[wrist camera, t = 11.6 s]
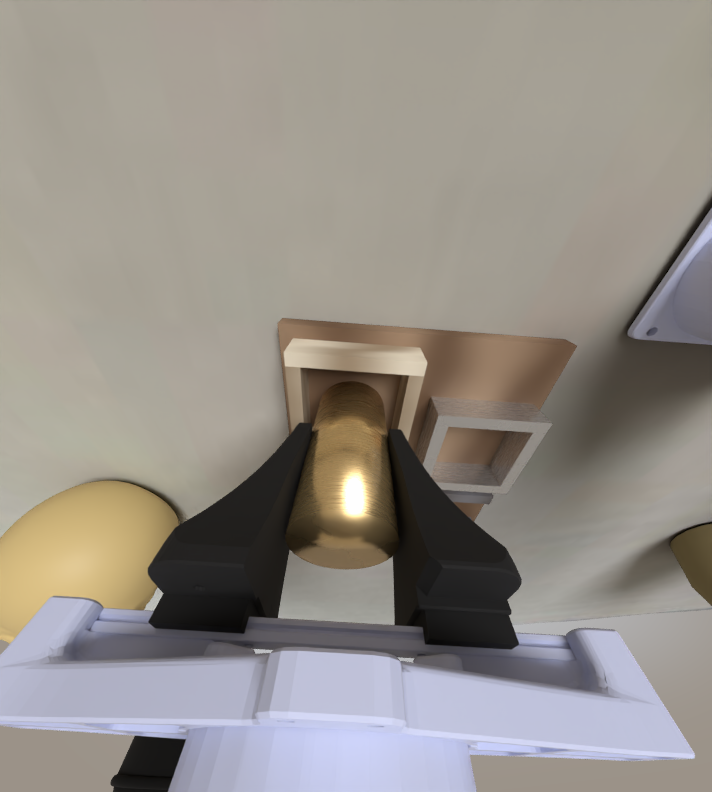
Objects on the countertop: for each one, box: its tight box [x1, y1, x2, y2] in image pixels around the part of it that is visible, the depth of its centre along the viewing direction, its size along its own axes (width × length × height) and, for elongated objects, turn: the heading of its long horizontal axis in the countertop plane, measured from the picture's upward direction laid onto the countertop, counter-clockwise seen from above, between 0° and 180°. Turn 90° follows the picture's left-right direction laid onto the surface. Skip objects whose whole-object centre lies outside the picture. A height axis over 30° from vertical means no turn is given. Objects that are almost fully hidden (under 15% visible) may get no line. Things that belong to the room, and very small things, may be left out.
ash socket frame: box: [284, 338, 427, 441], centre depth 16 cm, size 7×7×2 cm
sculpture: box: [0, 481, 179, 644], centre depth 21 cm, size 12×12×11 cm
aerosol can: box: [111, 736, 186, 792], centre depth 27 cm, size 8×8×20 cm
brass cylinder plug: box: [285, 381, 399, 569], centre depth 12 cm, size 4×4×8 cm
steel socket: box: [415, 397, 553, 494], centre depth 17 cm, size 7×7×2 cm
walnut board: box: [278, 318, 577, 522], centre depth 19 cm, size 17×19×2 cm
